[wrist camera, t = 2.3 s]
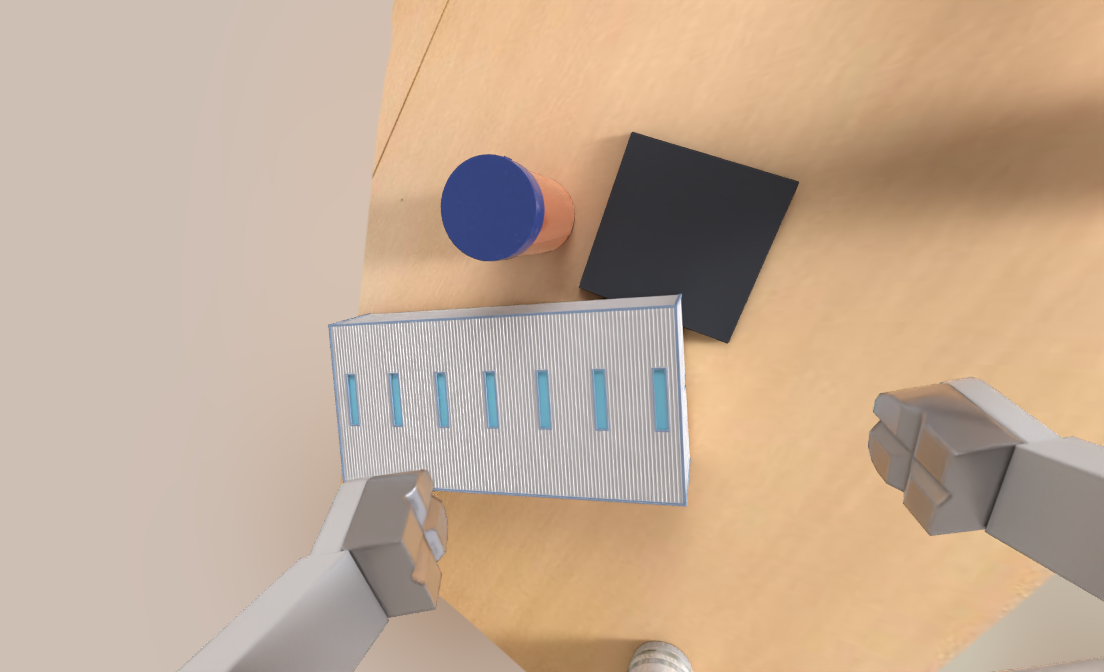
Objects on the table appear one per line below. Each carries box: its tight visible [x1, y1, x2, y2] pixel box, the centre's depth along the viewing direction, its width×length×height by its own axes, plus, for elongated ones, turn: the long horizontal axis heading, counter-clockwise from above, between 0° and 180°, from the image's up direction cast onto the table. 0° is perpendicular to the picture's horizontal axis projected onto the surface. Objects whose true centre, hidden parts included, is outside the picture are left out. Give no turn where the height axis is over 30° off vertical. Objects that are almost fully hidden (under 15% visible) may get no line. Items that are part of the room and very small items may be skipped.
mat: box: [579, 132, 799, 343], centre depth 40 cm, size 13×13×1 cm
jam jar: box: [520, 171, 575, 255], centre depth 39 cm, size 6×6×11 cm
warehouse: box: [328, 294, 691, 506], centre depth 43 cm, size 30×14×8 cm, turn 95°
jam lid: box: [441, 154, 545, 261], centre depth 34 cm, size 7×7×2 cm
